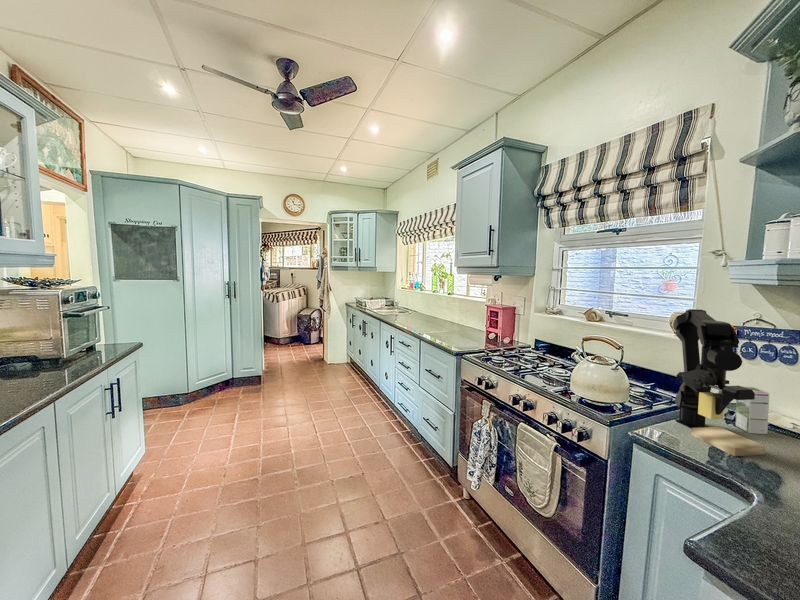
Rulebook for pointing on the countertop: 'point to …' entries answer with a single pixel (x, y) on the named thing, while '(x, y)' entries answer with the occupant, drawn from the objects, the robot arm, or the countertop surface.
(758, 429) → the syrup box
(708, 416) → the mustard block
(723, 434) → the cutting board
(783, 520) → the countertop surface
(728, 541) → the countertop surface
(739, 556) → the countertop surface
